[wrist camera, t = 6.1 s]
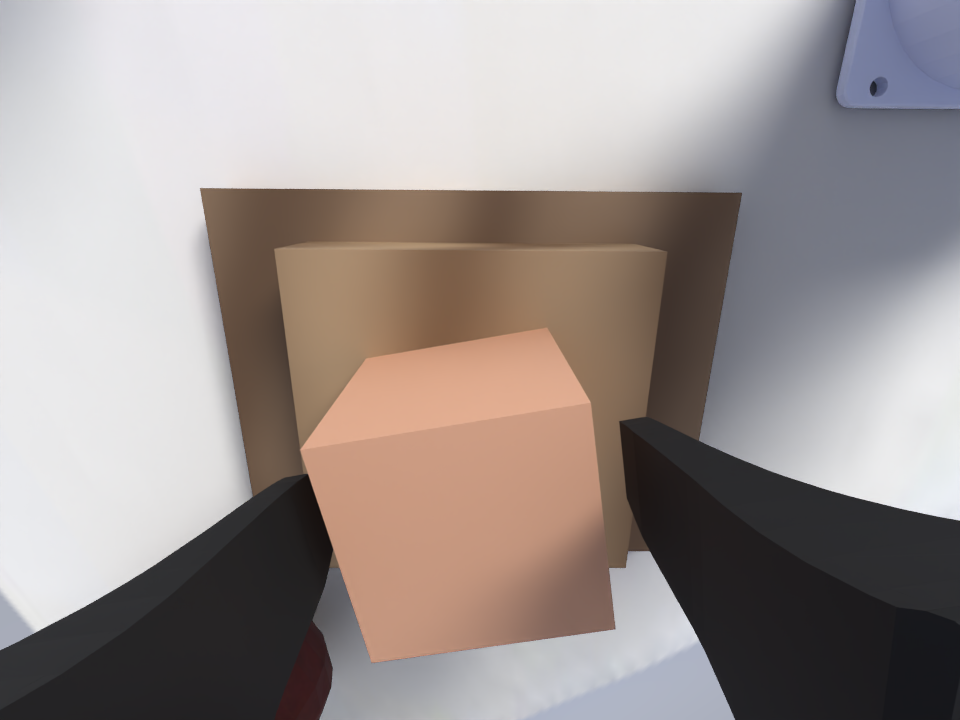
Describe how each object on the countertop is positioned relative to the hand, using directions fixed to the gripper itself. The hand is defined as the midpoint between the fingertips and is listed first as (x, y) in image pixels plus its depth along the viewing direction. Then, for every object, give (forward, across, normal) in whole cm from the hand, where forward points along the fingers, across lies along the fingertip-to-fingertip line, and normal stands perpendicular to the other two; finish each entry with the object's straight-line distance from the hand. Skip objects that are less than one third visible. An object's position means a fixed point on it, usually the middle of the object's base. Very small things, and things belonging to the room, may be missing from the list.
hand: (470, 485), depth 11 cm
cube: (+3, 0, 0) cm, 3 cm away
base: (+7, 0, 0) cm, 7 cm away
